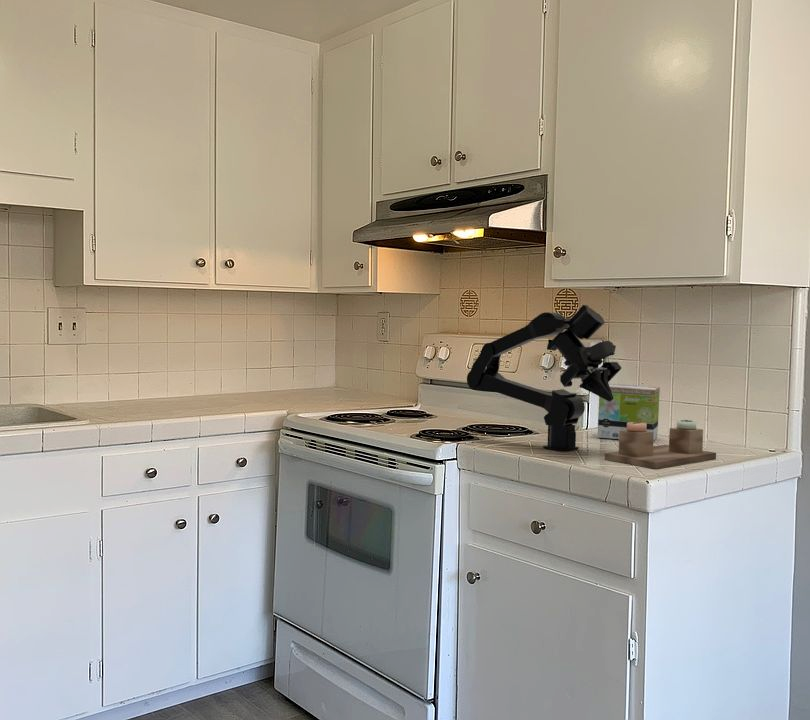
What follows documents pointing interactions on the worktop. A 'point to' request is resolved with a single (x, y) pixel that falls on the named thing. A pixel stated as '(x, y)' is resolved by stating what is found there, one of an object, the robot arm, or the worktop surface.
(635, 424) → the button
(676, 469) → the worktop surface
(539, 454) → the worktop surface
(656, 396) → the tea box
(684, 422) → the button
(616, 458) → the console
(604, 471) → the worktop surface
